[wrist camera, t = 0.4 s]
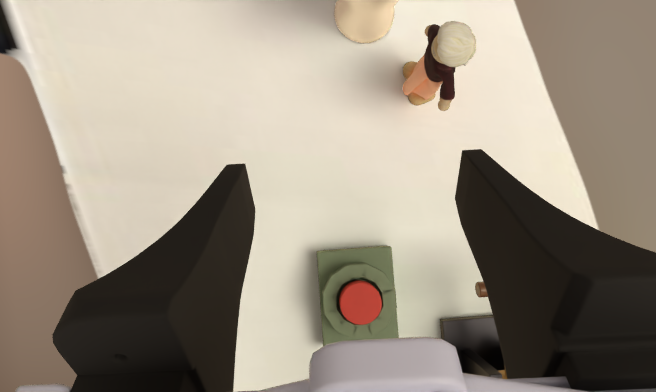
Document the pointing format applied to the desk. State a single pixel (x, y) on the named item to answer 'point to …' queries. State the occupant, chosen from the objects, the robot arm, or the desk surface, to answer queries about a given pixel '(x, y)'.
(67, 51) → the desk surface
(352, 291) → the button
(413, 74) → the grandmother figurine
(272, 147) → the desk surface
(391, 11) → the beer glass
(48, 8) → the desk surface
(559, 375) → the robot arm
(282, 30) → the desk surface
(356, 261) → the button block
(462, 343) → the bracket
